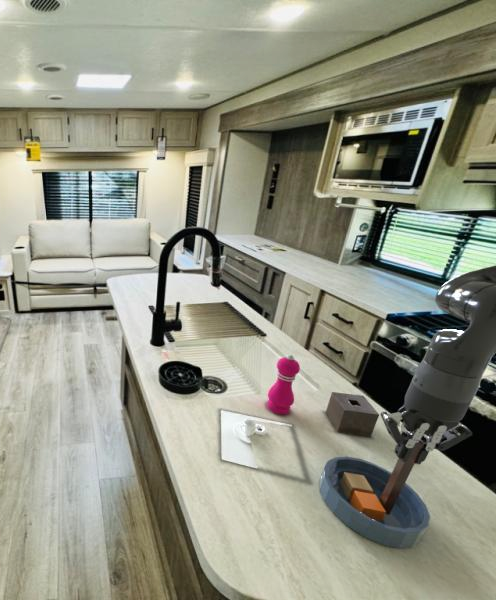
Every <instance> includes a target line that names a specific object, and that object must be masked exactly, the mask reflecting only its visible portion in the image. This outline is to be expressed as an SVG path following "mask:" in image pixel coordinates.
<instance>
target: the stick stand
mask: <svg viewBox="0 0 496 600" xmlns="http://www.w3.org/2000/svg"><path fill="white" fill-rule="evenodd" d="M325 414H326V415H327V417H328V419H329V421H330V422H331V424H332V426H333V427H334V428H335V430H336V432H337V433H342V434H348V435H355V436H362V437H369V438H371V437H372V434H373V432H374V430H375V427H376V424H377V422H378V420H379V417H380V413H379V412H378V411H377V410H376V409H375V407H374V406H373V405H372V404H371V402H369V400H368V399H367V398H366V397H365V396H364V395H361V394H353V393H344V392H335V391H331V394H330V397H329V400H328V403H327V406H326V410H325Z"/></svg>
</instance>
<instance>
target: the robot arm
mask: <svg viewBox="0 0 496 600" xmlns="http://www.w3.org/2000/svg"><path fill="white" fill-rule="evenodd" d="M434 301H435V304H436V307H438V308H439V310H441V311H443V312H444V313H446V314H448V315H450V316H453V317H455V318H457V319H460V320H462V321H465V322H467V323H469V325H468V327H467V328H466V329H465V330H464V331H463V330H457V329H442V330H439V331H437V332H436V333H434V335H433V336H432V338H431V340H430V341H429V344H428V347H427V349H426V351H425V353H424V356H423V358H422V360H421V362H420V363H419V364H418V366H417V368H416V369H415V372H414V374H413V375H412V376H413V377H412V378H411V381H410V383H409V386H408V388H407V390H406V392H405V395H404V403H403V405H402V406H401V407H399V409H398V410H397V412H392V413H388V412H387V411H381V412H380V417H381V419H382V422H383V424H384V426H385V428H386V431H387V433H388V434H389V436H390V437H391V438H392V439H393V441H394V442H395V443H396V445H395V447H394V450H393V451H394V455H396V457H397V458H398V459H400V460H401V461H403V462H407V461H408V459H409V456H410V454H411V452H412V450H413V447H414V445H415V443H416V441H417V440H418V441H420V440H421V441H422V442H423V443H424V445H423V447H422V449H421V451H420V453H419V455H418V457H417V459H416V461H415V464H414V465H421V464H422V463H423V462H425V461H426V459H427V458H428V455H429V454H430V452H433V451H434V450H439V451H441V452H444V451H447V450H449V449H450V448H451V447H454V446H455V445H457V444H460V443H461V442H463V441H464V440H466V439H468V438H470V437H472V436H473V432H472V431H471V430H470V429H469V428H468V427H467V426H466V425H465V424H463V423H462V422H460V421H462V420H463V418H464V417H465V415H466V413H467V411H468V409H469V407H470V406H471V403H472V402H473V399H474V398H475V396H476V395H477V392H478V391H479V388H480V386H481V382H482V377H483V375H484V374H485V372H486V370H487V368H488V366H489V364H490V362H491V360H492V358H493V356H495V354H496V265H492V266H487V267H483V268H480V269H475V270H471V271H468V272H465V273H461V274H459V275H457V276H455V277H452V278H451V279H449V280H448V281H446V282H445V283H444V284H443V285H441V286H440V287H439V288H438V290H437V291H436V294H435V296H434ZM401 421H402V423H401ZM399 427H400V429H401V430H400V429H399ZM445 438H446V439H445ZM444 439H445V440H444ZM442 440H444V441H442Z"/></svg>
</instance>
